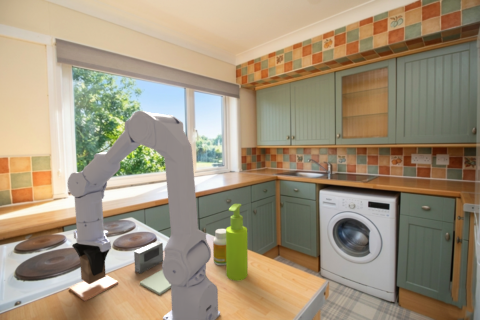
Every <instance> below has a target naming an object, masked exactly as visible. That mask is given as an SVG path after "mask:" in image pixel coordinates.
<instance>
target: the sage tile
mask: <svg viewBox="0 0 480 320" xmlns="http://www.w3.org/2000/svg"><path fill="white" fill-rule="evenodd" d="M139 285H141V286H142V287H144V288H146V289H147V290H149V291H152V292H153V293H155V294H157V295H159V296H161V295H162V294H164V293H165V292H167V291H168V290H169V289H170V290H171V284H169V282H168V281H167V280H166V278H165V276H164V274H163V270H162V269H160V270H159V271H157V272H154V274H151V275H150V276H148V277H146V278H144V279H142V280H140V282H139Z"/></svg>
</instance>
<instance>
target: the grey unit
mask: <svg viewBox="0 0 480 320" xmlns="http://www.w3.org/2000/svg"><path fill="white" fill-rule="evenodd" d="M163 246H164V244H163V242H162V241H158V240H156V241H155V242H152V243H149V244H148V245H145V246H142V247H140V248H138V249H136V250H134V251H133V254H134V256H133V257H134V258H133V259H134V272H136V273H138V274H140V275H141V274H142V273H144V272H146V271H148V270H150V269H152V268H155V267H156V266H157V265H159V264H161V263H163V261H164V249H163Z"/></svg>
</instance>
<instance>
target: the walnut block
mask: <svg viewBox="0 0 480 320" xmlns="http://www.w3.org/2000/svg"><path fill="white" fill-rule="evenodd" d="M79 263H80V265H79V266H80V276H81V277H80V278H81V279H80V280H82V281H85V282H86V283H88V284H91V283H93V282H95V281H97V280H100V279H102V278H104V277H106V275H107V274H106V262H105V263H104V268H103V272H102V273H99V274H97V275H95V276H94V275H93V274H92V271H91V267H90V263H89V260H88V258H87V256H86V255H83V256H80V258H79Z"/></svg>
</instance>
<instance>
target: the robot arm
mask: <svg viewBox="0 0 480 320" xmlns="http://www.w3.org/2000/svg"><path fill="white" fill-rule="evenodd" d="M140 146H144V147H146V148H149V149H151V150H154V151H155V152H156V153H158V154H159V155H160V156H161V157H162V158H164V166H165V177H166V180H165V181H166V188H167V197H168V198H167V201H168V203H167V204H168V211H169V212H168V213H169V222H170V223H169V224H170V237H169V239H168V240H167V243H166V245H165V247H164V249H163V251H164V257H163V262H162V264H161V265H162V266H161V270H163V274H164V276H165V278H166V280H167V281H168V282H169V284H171V288H170V292H171V294H170V295H171V299H170V300H171V310H170V311H168V312H167V313H166V314H165V315H164V316H163V317H162V320H216V319H218V318H219V316H221V311H220V310H219V298H218V297H219V295H218V294H219V293H218V292H219V290H218V287H217V285H216V284H215V283H213V282H212V281H211V280H210V279H209V278H208V276H207V274H206V273H207V271H206V270H207V264H208V263H209V261H210V260H211V256H212V251H211V247H210V245H209V242H208V241H207V235H206V233H205V232H204V231H202V230H200V229H199V224H198V223H199V222H198V212H197V211H198V209H197V197H196V185H195V172H194V171H195V170H194V160H193V159H194V158H193V149H192V144H191V142H190V140H189V138H188V137H187V134H186V132H185V130H184V123H183V121H181V120H180V119H178V118H177V117H175V116H174V115H172V114H162V113H155V112H154V113H152V112H147V111H145V110H137V111H135V112H133V113H132V114H131V116H129V118H128V119H126V121H125V122H124V131H122V133H121V134H120V135H119V137H118V138H117V139H116V140H115V141H114V143H113V144H112V145H111V147H110V148H108V150H107V152H106V151H104V152H99V153H95V154H94V155H93V159H91V161H90V162H89V163H88V164H87V165H85V166H84V167H83V170H81V171H78V172H77V171H76V172H72V173H71V174H70V175H69V177H68V179H67V188H68V191H69V194H70V195H71V196H73V197H74V207H75V224H76V230H75V231H74V230H73V239H75V240H76V242H75V243H72V245H71V246H72V248H73V249H74V251H75V252H76V254H77V255H78V257H79V259H80V256H83V255H86V256H87V258H88V260H89V263H90V267H91V271H92V274H93V275H94V276H95V275H97V274H99V273H102V272H103V268H104V263H105V264H106V259H107V256H108V254H109V252H110V250H111V249H112V244H111V240H109V239H108V237H107V235H109V231H108V230H105V226H104V211H103V199H104V197H105V190H106V189H107V186H108V181H109V180H110V179H111V178H113V177H114V176H115V174H116V173H118V172H119V171H120V169H121V162H122V161H123V160H125V158H127V157H128V156H129V155H130V154H131V153H133V152H134V151H135V150H136V149H137V148H138V147H140Z"/></svg>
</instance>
